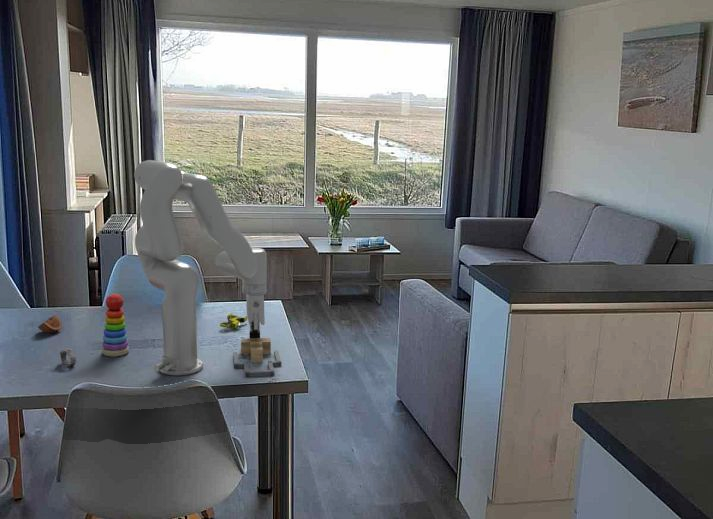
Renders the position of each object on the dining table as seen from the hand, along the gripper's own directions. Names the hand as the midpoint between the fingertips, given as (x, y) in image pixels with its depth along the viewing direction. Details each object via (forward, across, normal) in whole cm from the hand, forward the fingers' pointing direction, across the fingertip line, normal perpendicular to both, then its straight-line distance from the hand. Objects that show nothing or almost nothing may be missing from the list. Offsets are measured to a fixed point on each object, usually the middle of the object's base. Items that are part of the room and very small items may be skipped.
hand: (254, 343), depth 219 cm
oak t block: (+2, -7, 0) cm, 7 cm away
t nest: (+2, -16, 0) cm, 16 cm away
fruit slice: (+2, +24, +65) cm, 70 cm away
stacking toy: (+2, +2, +42) cm, 42 cm away
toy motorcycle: (+2, +23, +6) cm, 24 cm away
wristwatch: (+2, -7, +54) cm, 55 cm away
